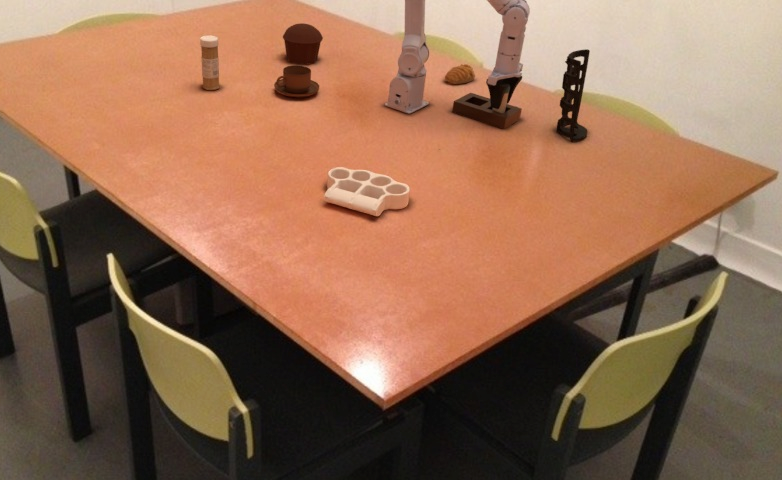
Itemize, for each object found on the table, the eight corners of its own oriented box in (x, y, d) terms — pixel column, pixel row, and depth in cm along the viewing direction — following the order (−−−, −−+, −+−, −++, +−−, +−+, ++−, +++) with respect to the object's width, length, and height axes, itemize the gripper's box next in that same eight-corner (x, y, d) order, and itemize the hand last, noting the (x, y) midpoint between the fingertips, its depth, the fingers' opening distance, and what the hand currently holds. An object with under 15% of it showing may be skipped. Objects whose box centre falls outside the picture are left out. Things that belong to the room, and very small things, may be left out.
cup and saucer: (299, 104, 199) (300, 81, 195) (264, 92, 205) (264, 69, 201) (328, 92, 207) (329, 70, 204) (293, 81, 213) (294, 59, 209)
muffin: (276, 62, 224) (277, 27, 219) (289, 50, 233) (290, 17, 228) (315, 68, 222) (316, 33, 216) (327, 56, 231) (328, 23, 225)
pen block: (503, 129, 193) (506, 118, 191) (452, 112, 201) (453, 101, 199) (519, 119, 199) (522, 108, 197) (468, 103, 206) (470, 92, 205)
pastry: (458, 87, 215) (459, 74, 213) (438, 81, 219) (439, 68, 217) (476, 79, 221) (478, 66, 219) (456, 73, 225) (458, 60, 223)
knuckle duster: (309, 201, 157) (340, 173, 168) (390, 225, 151) (417, 194, 162) (310, 187, 156) (341, 159, 167) (392, 210, 150) (419, 180, 161)
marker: (499, 123, 196) (506, 88, 191) (486, 118, 198) (492, 84, 193) (506, 119, 198) (512, 85, 193) (492, 115, 200) (499, 81, 195)
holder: (588, 143, 188) (600, 62, 177) (556, 142, 189) (566, 61, 179) (585, 126, 197) (596, 48, 186) (555, 125, 198) (564, 47, 188)
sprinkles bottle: (213, 83, 208) (212, 33, 200) (223, 88, 205) (221, 38, 198) (199, 86, 206) (196, 36, 198) (208, 92, 203) (206, 41, 195)
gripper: (510, 63, 181) (499, 117, 189) (537, 49, 191) (527, 101, 199) (483, 55, 185) (474, 109, 193) (512, 42, 194) (502, 94, 202)
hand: (499, 105), depth 196 cm, fingers open, 4 cm apart
